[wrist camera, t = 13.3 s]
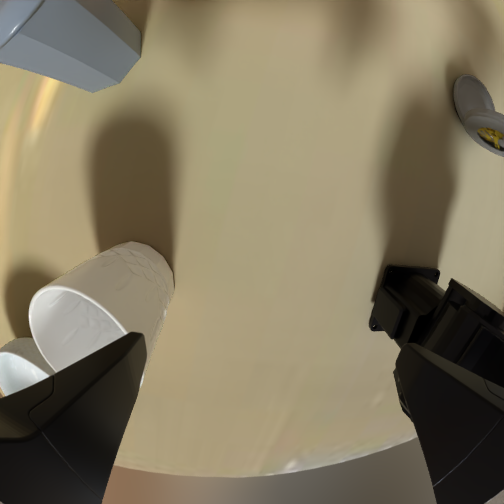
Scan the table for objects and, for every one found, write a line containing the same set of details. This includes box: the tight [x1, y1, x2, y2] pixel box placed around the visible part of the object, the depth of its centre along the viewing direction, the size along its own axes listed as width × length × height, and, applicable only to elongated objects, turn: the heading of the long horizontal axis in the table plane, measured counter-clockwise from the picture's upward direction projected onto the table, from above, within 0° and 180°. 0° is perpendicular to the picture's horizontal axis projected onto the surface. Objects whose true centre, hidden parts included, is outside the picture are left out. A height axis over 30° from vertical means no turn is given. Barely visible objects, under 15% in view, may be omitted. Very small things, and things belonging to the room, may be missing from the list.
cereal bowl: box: [0, 337, 56, 396], centre depth 22 cm, size 17×17×7 cm
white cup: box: [29, 241, 174, 387], centre depth 17 cm, size 8×8×10 cm
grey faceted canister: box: [0, 0, 141, 93], centre depth 9 cm, size 7×7×12 cm
